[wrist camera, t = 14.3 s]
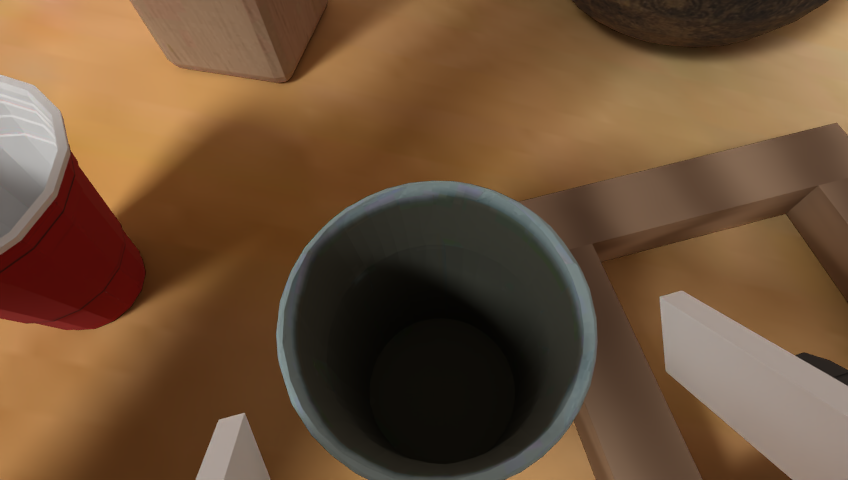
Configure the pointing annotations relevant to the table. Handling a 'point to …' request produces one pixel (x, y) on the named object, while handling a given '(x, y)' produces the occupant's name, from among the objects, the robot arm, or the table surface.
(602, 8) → the bowl
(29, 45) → the table surface
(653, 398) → the well board
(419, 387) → the grey-green cup
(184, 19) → the wooden block
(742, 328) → the robot arm
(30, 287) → the plastic cup
